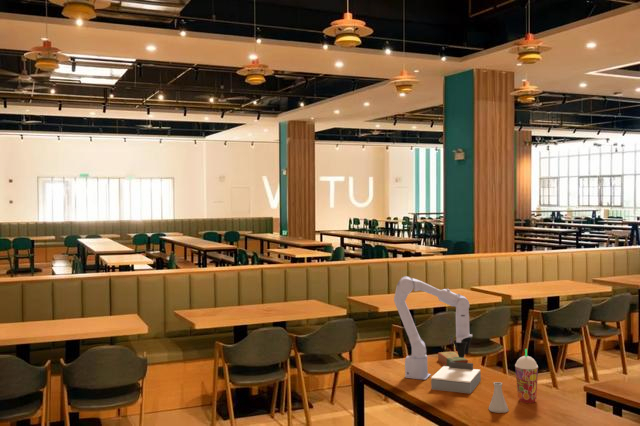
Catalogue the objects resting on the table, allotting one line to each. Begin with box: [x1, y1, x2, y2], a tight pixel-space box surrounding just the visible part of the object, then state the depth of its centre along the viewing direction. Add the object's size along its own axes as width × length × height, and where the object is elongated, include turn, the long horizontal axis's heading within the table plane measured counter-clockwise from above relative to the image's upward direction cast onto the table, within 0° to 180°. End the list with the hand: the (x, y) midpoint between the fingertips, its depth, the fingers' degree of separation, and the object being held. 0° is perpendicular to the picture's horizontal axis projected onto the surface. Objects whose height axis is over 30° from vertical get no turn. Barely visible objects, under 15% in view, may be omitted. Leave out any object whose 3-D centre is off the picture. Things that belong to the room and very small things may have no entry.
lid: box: [430, 361, 481, 383], centre depth 267 cm, size 16×18×3 cm
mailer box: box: [430, 371, 482, 395], centre depth 267 cm, size 16×18×4 cm
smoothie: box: [514, 348, 539, 404], centre depth 244 cm, size 8×8×20 cm
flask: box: [488, 381, 509, 414], centre depth 235 cm, size 7×7×10 cm
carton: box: [437, 351, 469, 367], centre depth 299 cm, size 8×16×4 cm, turn 12°
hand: (463, 355), depth 278 cm, fingers open, 6 cm apart
